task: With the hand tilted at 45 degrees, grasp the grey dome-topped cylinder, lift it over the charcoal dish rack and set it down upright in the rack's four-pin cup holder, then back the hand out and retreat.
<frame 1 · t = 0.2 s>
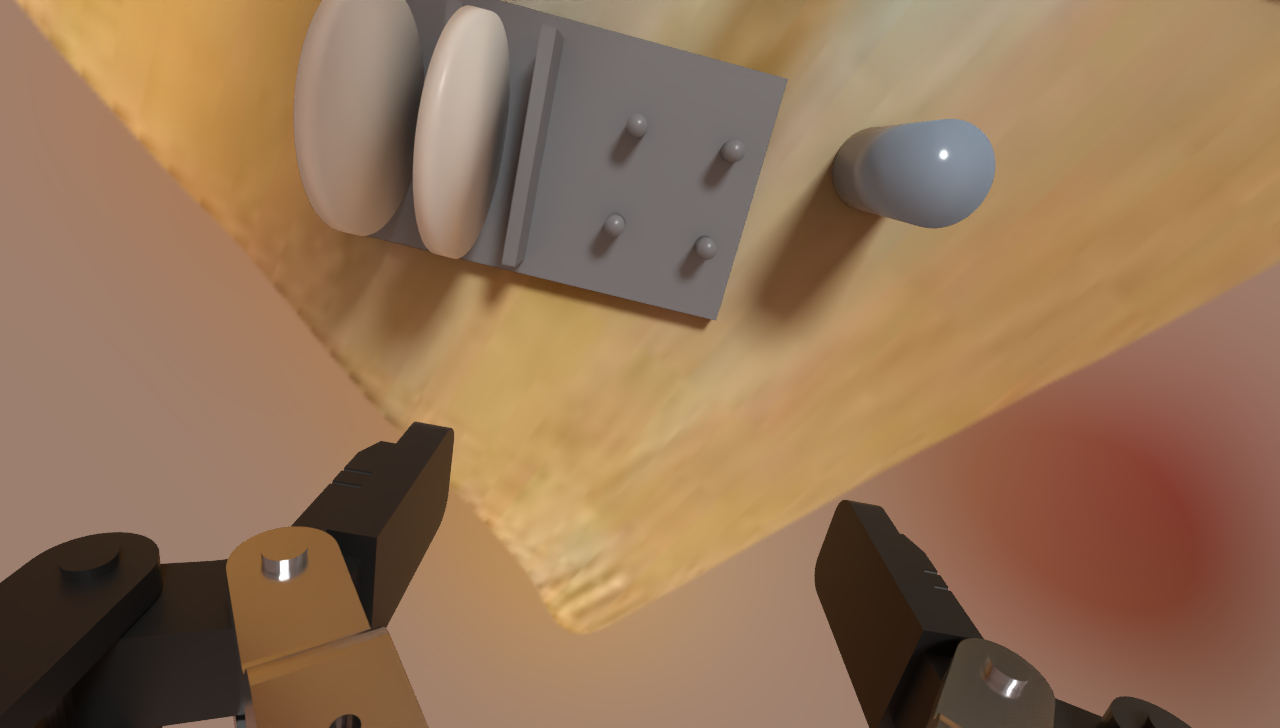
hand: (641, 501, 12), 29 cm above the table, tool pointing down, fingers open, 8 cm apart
dish rack: (563, 159, 38), on the table
grey dome-topped cylinder: (871, 169, 38), on the table
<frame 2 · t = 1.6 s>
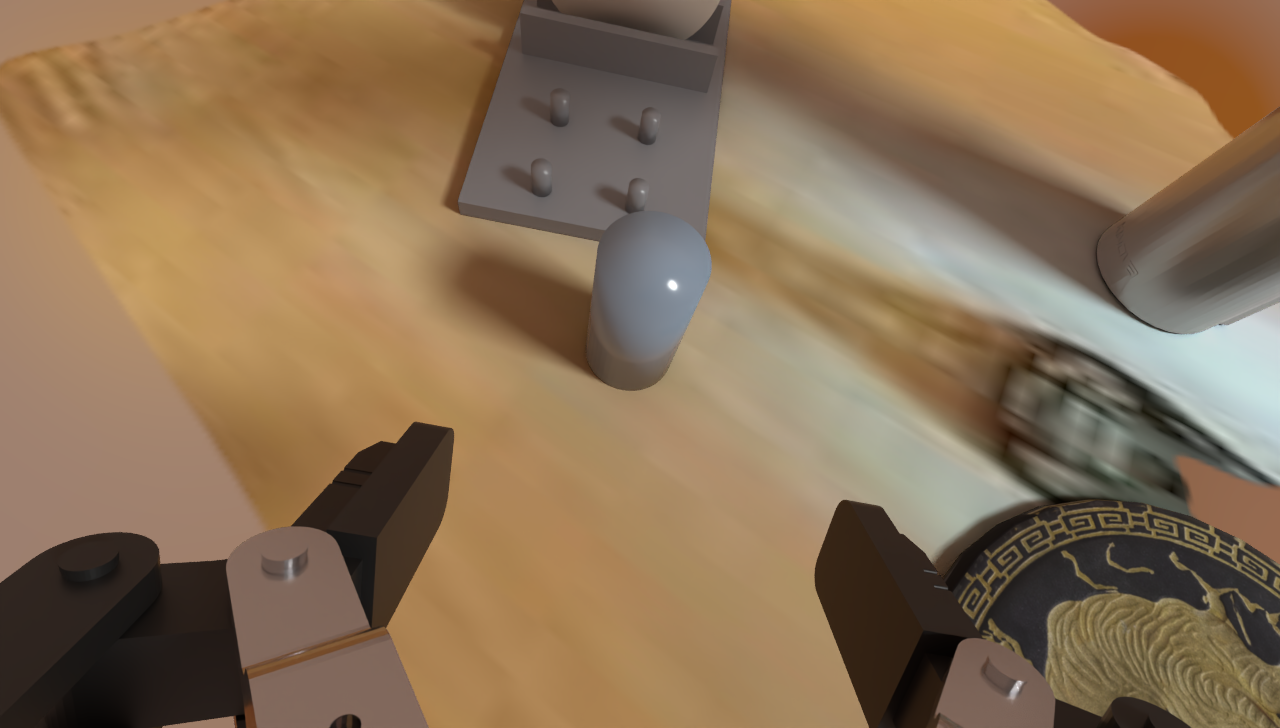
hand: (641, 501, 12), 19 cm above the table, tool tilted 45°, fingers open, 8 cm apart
dish rack: (611, 98, 42), on the table
grey dome-topped cylinder: (629, 350, 34), on the table
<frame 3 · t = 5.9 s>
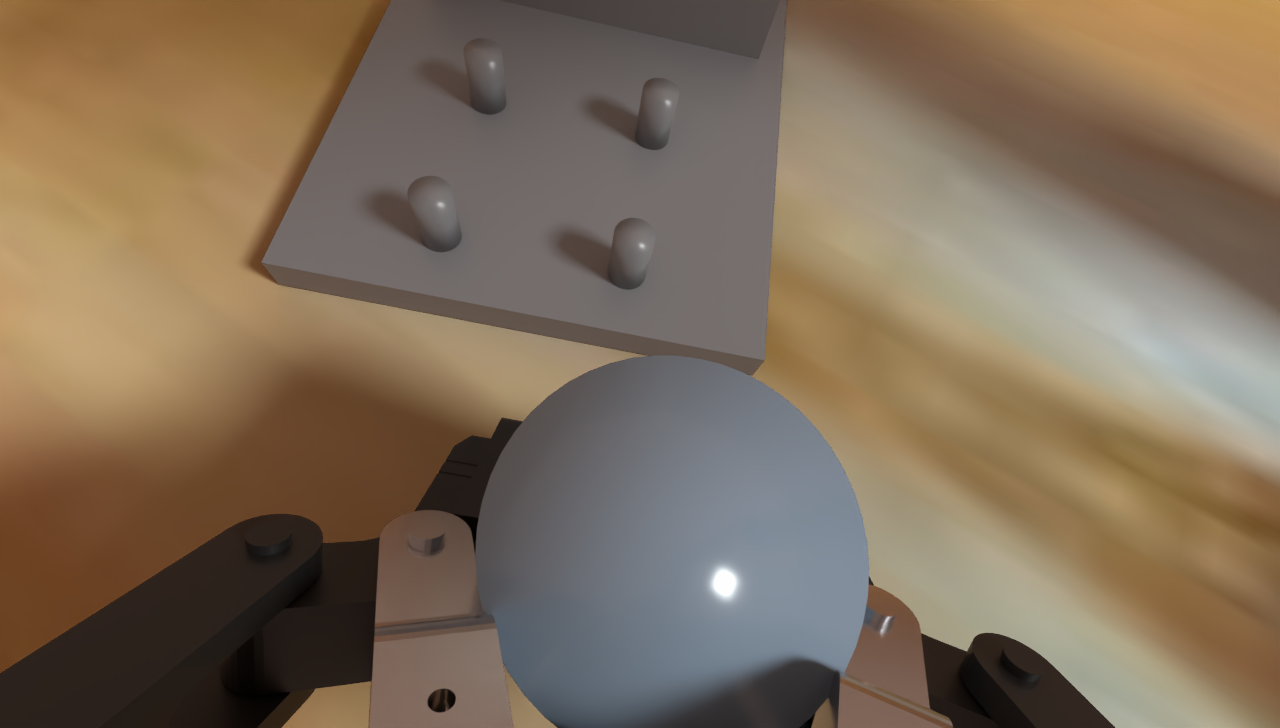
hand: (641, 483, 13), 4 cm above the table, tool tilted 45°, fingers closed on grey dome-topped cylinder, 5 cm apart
dish rack: (589, 68, 24), on the table
grey dome-topped cylinder: (609, 585, 16), on the table, touching gripper
when the fingers open (7 cm above the table, at t = 11.6 s): grey dome-topped cylinder drops 1 cm, resting on dish rack.
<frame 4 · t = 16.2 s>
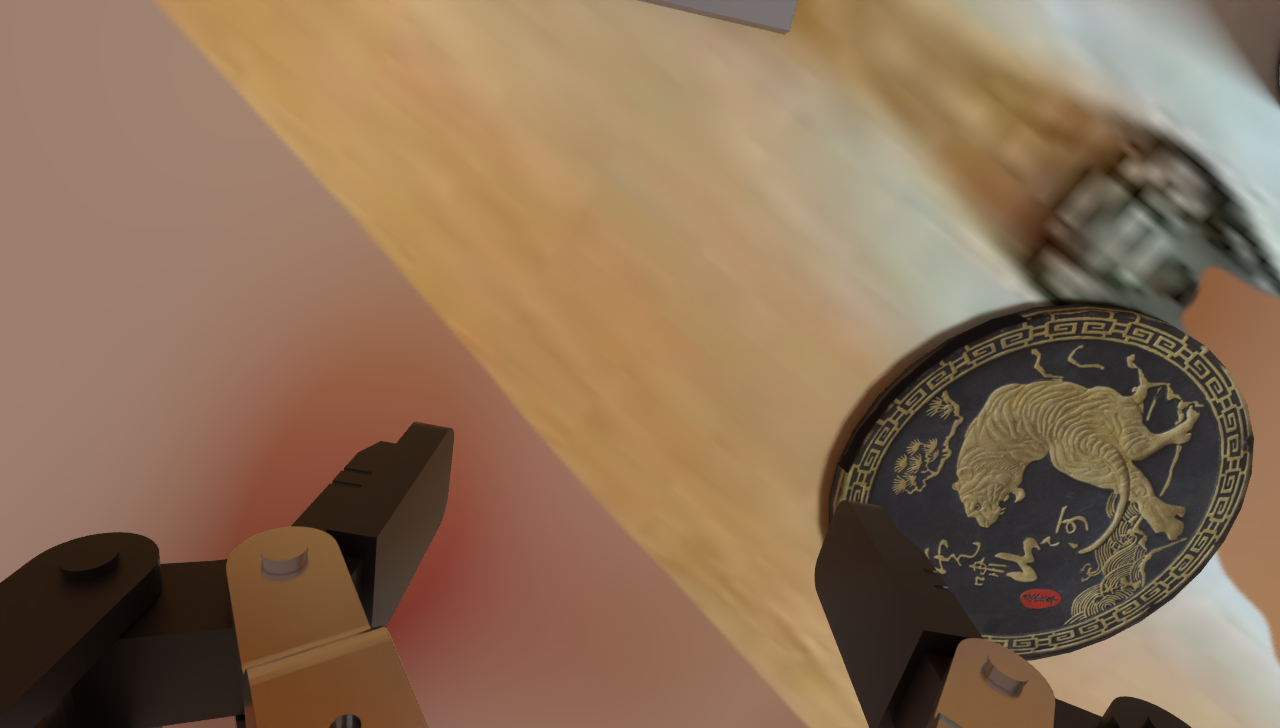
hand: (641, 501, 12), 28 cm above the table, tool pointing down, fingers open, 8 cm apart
decorative plate: (1024, 493, 45), on the table
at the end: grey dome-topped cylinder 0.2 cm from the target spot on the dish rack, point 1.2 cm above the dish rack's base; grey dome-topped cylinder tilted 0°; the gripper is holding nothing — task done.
